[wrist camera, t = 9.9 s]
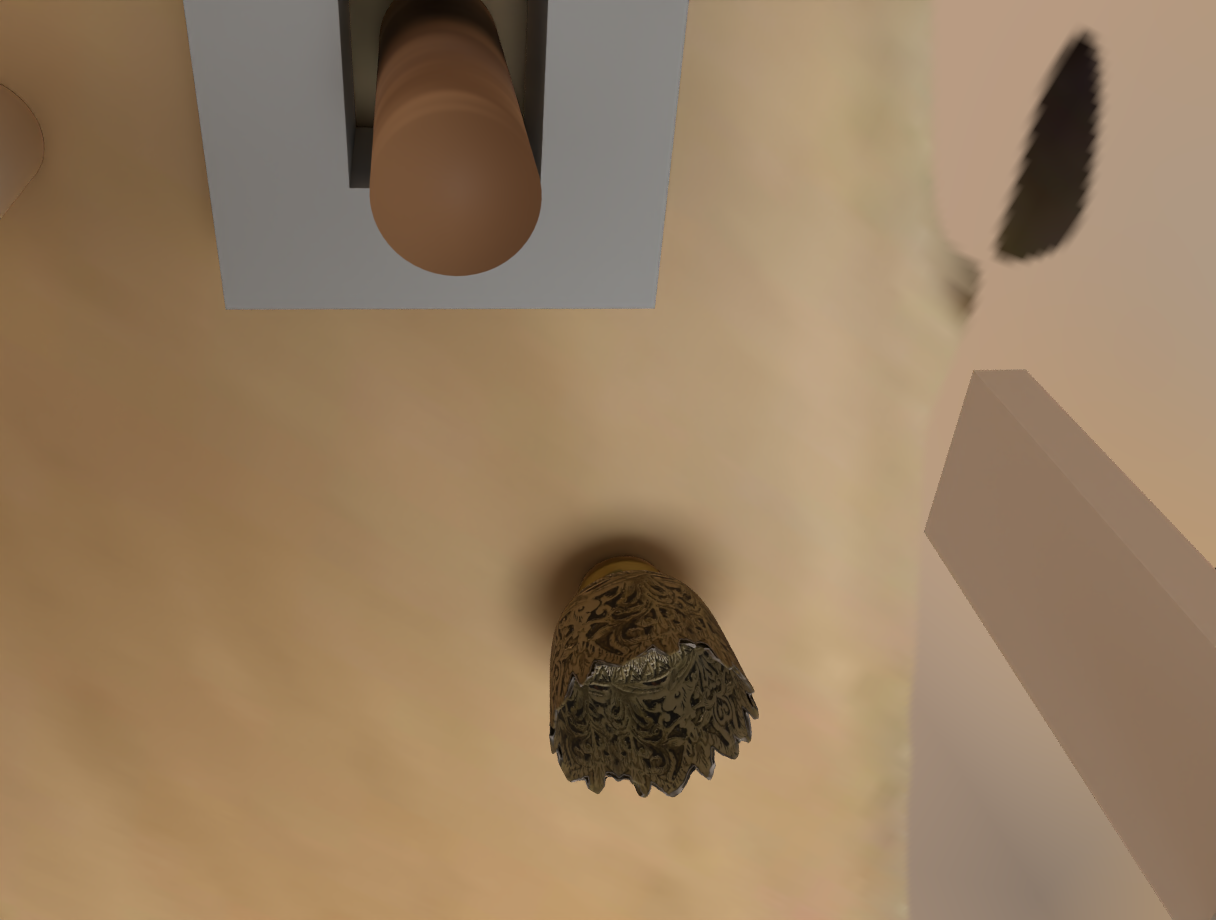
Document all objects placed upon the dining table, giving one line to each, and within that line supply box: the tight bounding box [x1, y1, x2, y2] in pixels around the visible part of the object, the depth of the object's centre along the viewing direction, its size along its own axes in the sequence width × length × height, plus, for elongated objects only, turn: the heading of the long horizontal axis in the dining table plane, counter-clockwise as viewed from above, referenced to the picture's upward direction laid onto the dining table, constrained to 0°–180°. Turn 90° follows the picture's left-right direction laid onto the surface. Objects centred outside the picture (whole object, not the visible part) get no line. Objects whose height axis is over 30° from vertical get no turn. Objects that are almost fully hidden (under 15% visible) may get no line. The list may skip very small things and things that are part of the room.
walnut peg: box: [369, 0, 542, 276], centre depth 26 cm, size 3×3×12 cm
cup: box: [549, 556, 759, 798], centre depth 41 cm, size 8×7×8 cm
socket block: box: [183, 0, 689, 309], centre depth 29 cm, size 12×12×5 cm
